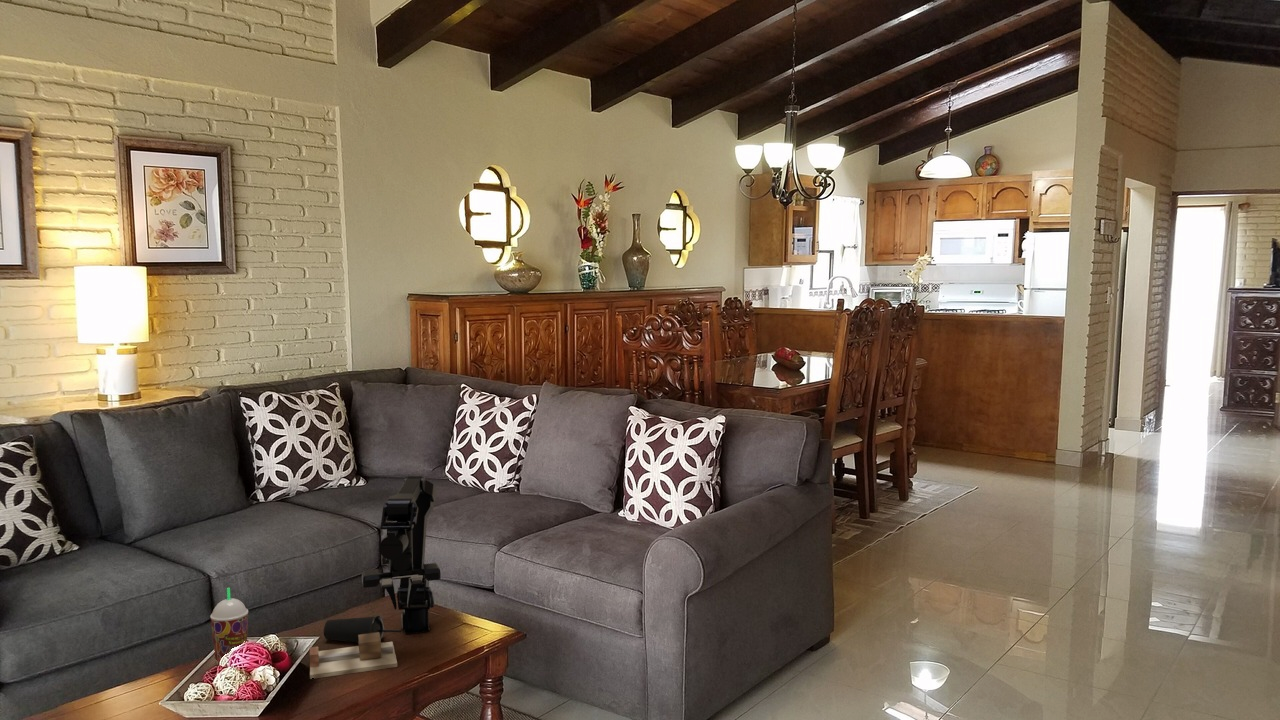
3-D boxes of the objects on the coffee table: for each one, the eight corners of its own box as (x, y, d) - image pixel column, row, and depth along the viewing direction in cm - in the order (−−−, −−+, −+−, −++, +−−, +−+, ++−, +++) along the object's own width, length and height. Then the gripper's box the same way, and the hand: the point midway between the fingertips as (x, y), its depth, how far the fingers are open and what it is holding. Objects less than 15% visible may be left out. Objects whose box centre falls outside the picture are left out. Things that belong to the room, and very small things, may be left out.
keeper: (379, 648, 225) (379, 632, 225) (381, 657, 220) (380, 640, 219) (358, 651, 224) (358, 634, 223) (359, 660, 218) (359, 643, 218)
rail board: (392, 645, 230) (392, 630, 230) (397, 666, 217) (396, 650, 217) (310, 656, 224) (309, 640, 223) (310, 679, 210) (309, 662, 210)
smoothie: (231, 677, 211) (228, 595, 209) (204, 672, 214) (201, 591, 212) (257, 663, 219) (255, 584, 217) (231, 658, 222) (228, 580, 220)
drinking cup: (337, 629, 239) (408, 631, 236) (325, 650, 232) (398, 653, 230) (330, 608, 235) (402, 609, 233) (318, 629, 229) (392, 631, 226)
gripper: (434, 535, 233) (435, 593, 234) (360, 542, 227) (361, 602, 228) (440, 547, 223) (441, 607, 224) (362, 554, 216) (363, 617, 217)
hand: (402, 608), depth 224 cm, fingers open, 3 cm apart
